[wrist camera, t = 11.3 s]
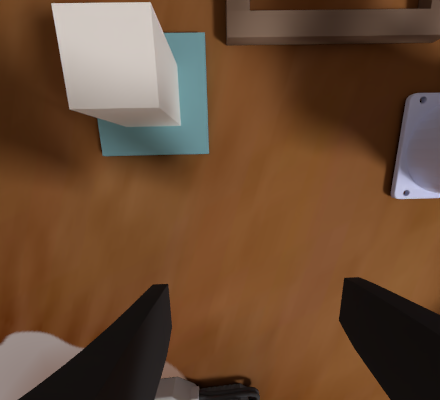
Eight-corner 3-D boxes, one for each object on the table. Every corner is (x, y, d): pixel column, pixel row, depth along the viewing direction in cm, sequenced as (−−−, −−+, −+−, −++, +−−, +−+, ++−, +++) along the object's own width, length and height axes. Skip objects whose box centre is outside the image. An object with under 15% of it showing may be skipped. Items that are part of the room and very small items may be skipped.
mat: (204, 37, 14) (204, 32, 14) (208, 153, 16) (208, 153, 16) (90, 39, 14) (84, 34, 14) (107, 156, 16) (102, 156, 15)
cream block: (177, 65, 14) (150, 2, 8) (180, 125, 15) (159, 107, 9) (119, 66, 14) (51, 3, 8) (126, 127, 15) (69, 109, 9)
